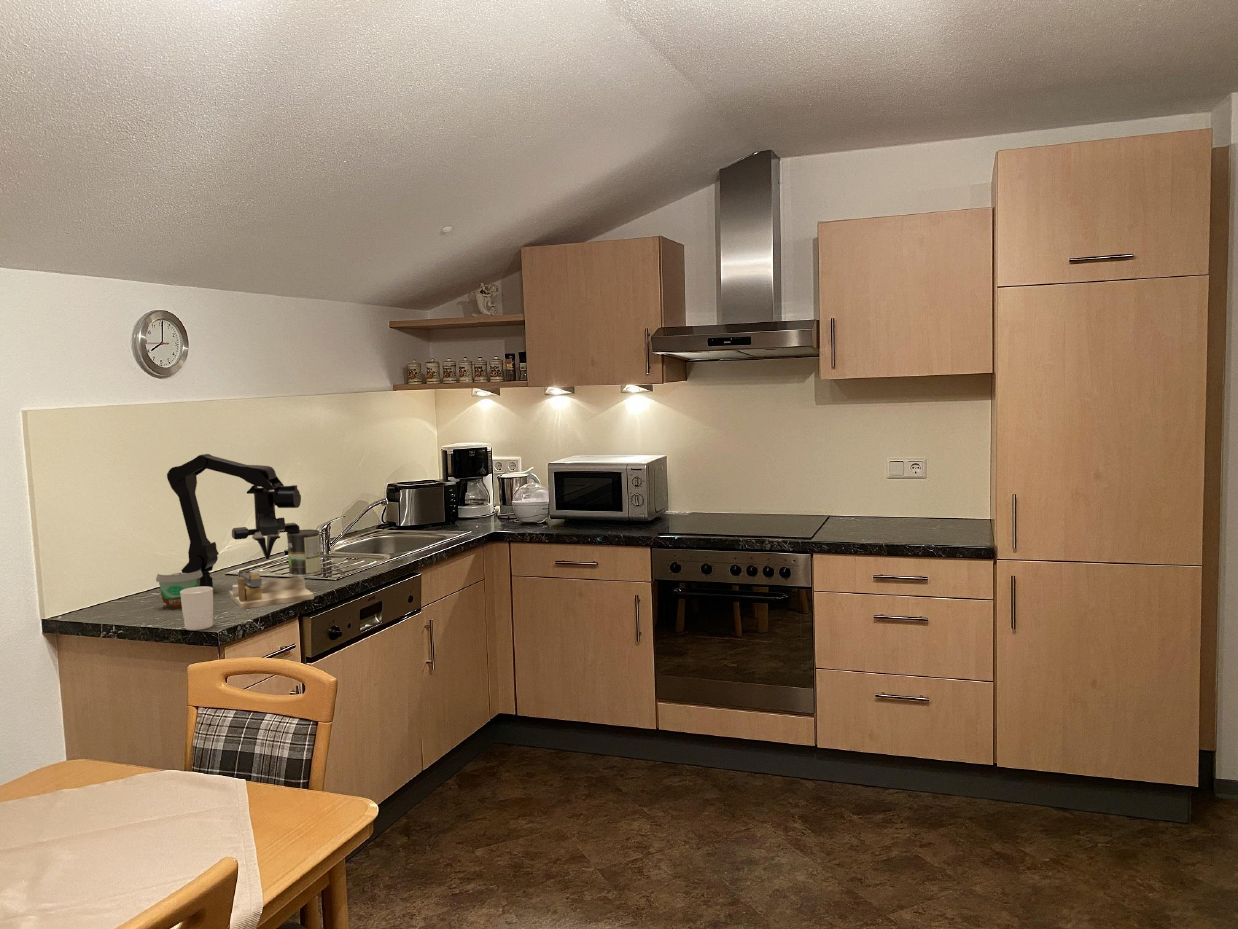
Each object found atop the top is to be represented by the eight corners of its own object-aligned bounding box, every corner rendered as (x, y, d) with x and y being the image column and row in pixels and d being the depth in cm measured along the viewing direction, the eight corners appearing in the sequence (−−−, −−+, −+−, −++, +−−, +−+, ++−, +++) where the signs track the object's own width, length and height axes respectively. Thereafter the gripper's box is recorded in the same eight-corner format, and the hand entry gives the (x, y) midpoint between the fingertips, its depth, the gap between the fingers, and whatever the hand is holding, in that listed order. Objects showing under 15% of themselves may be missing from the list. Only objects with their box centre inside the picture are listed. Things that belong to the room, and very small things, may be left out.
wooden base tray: (241, 609, 269) (239, 581, 268) (229, 596, 286) (227, 570, 285) (313, 599, 279) (312, 572, 278) (297, 587, 296) (296, 561, 295)
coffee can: (289, 578, 310) (287, 535, 309) (288, 572, 320) (286, 531, 319) (322, 575, 314) (320, 532, 313) (320, 569, 324) (318, 528, 322)
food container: (157, 612, 268) (154, 577, 267) (158, 607, 274) (155, 573, 273) (204, 606, 273) (202, 572, 272) (204, 602, 279) (202, 568, 278)
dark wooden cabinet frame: (238, 578, 284) (237, 567, 284) (249, 577, 286) (248, 565, 286) (250, 587, 272) (249, 575, 271) (262, 586, 273) (261, 574, 273)
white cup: (197, 622, 255) (194, 586, 254) (222, 624, 253) (219, 587, 252) (175, 630, 248) (173, 592, 247) (201, 631, 245) (198, 593, 244)
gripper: (235, 513, 275) (238, 567, 277) (302, 508, 285) (304, 560, 286) (230, 509, 285) (232, 560, 286) (294, 504, 294) (297, 554, 296)
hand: (267, 559), depth 288 cm, fingers closed
